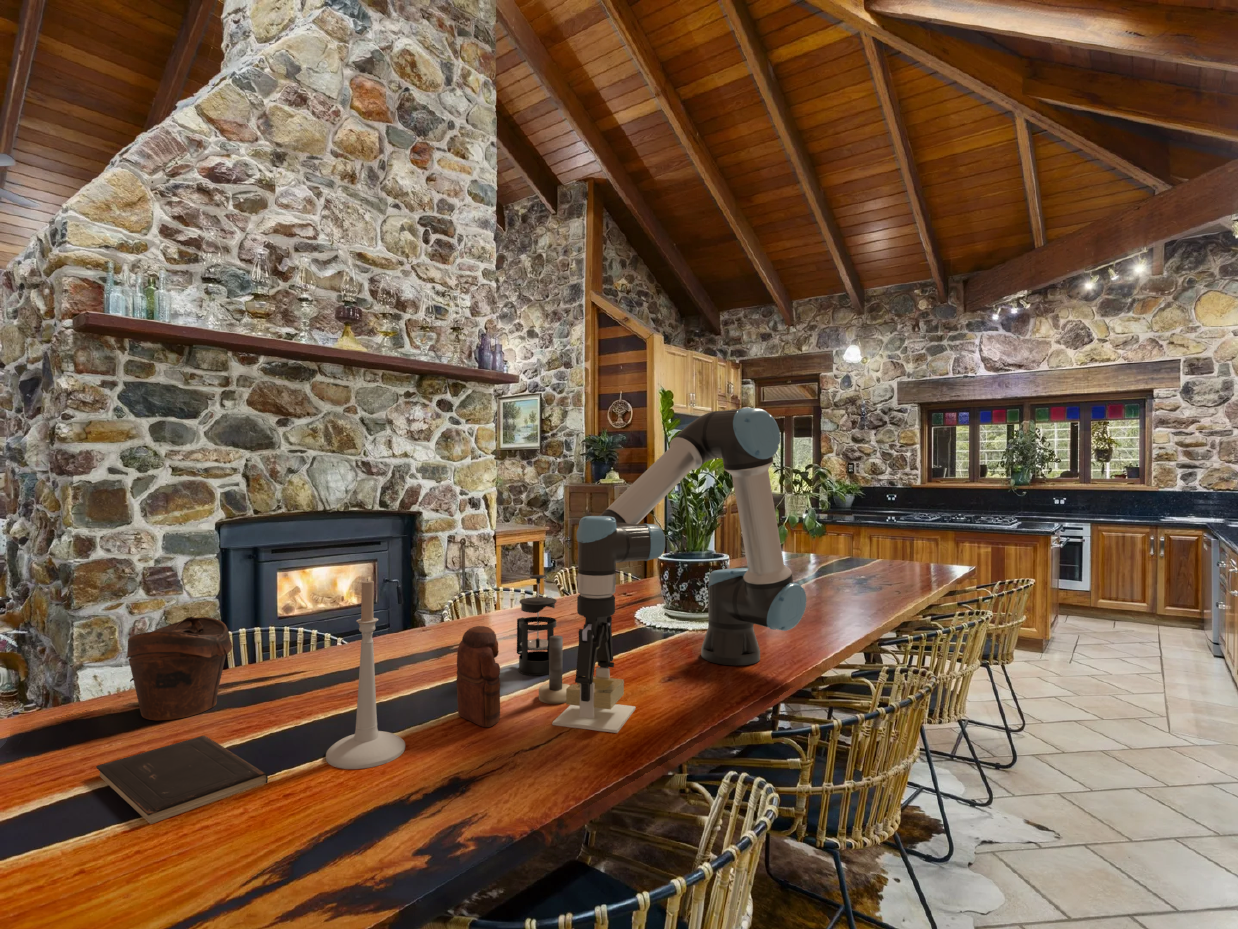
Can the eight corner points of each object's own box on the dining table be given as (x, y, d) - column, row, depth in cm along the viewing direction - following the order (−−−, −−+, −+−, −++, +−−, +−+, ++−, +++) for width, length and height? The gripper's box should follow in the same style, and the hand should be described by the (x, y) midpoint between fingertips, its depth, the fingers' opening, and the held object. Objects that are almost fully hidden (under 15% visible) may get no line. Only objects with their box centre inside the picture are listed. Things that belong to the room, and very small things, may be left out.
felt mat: (635, 709, 137) (635, 706, 137) (617, 733, 124) (617, 730, 124) (575, 702, 140) (575, 699, 140) (552, 724, 128) (552, 722, 128)
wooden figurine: (510, 721, 130) (511, 629, 130) (483, 731, 125) (484, 634, 125) (476, 706, 138) (477, 618, 138) (449, 714, 133) (449, 624, 133)
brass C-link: (623, 694, 135) (623, 679, 135) (610, 709, 127) (610, 693, 127) (581, 689, 138) (582, 675, 138) (566, 704, 129) (566, 688, 129)
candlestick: (358, 776, 106) (359, 588, 107) (309, 757, 113) (311, 580, 113) (420, 747, 117) (422, 577, 117) (373, 731, 124) (374, 570, 124)
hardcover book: (147, 830, 91) (148, 813, 91) (96, 780, 106) (96, 765, 106) (267, 786, 104) (268, 771, 104) (207, 747, 118) (207, 734, 118)
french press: (566, 669, 163) (567, 575, 163) (539, 679, 155) (540, 580, 155) (532, 660, 170) (533, 570, 170) (505, 669, 162) (505, 575, 162)
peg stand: (577, 694, 145) (577, 634, 145) (565, 705, 138) (565, 642, 138) (546, 690, 147) (547, 631, 147) (533, 701, 140) (533, 640, 140)
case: (217, 685, 149) (216, 605, 148) (244, 710, 134) (243, 621, 134) (118, 707, 136) (117, 619, 136) (136, 736, 122) (135, 639, 122)
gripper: (595, 584, 144) (594, 688, 144) (558, 603, 123) (556, 725, 123) (629, 586, 142) (628, 692, 142) (596, 606, 121) (595, 731, 121)
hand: (594, 708), depth 132 cm, fingers closed on brass C-link, 9 cm apart
